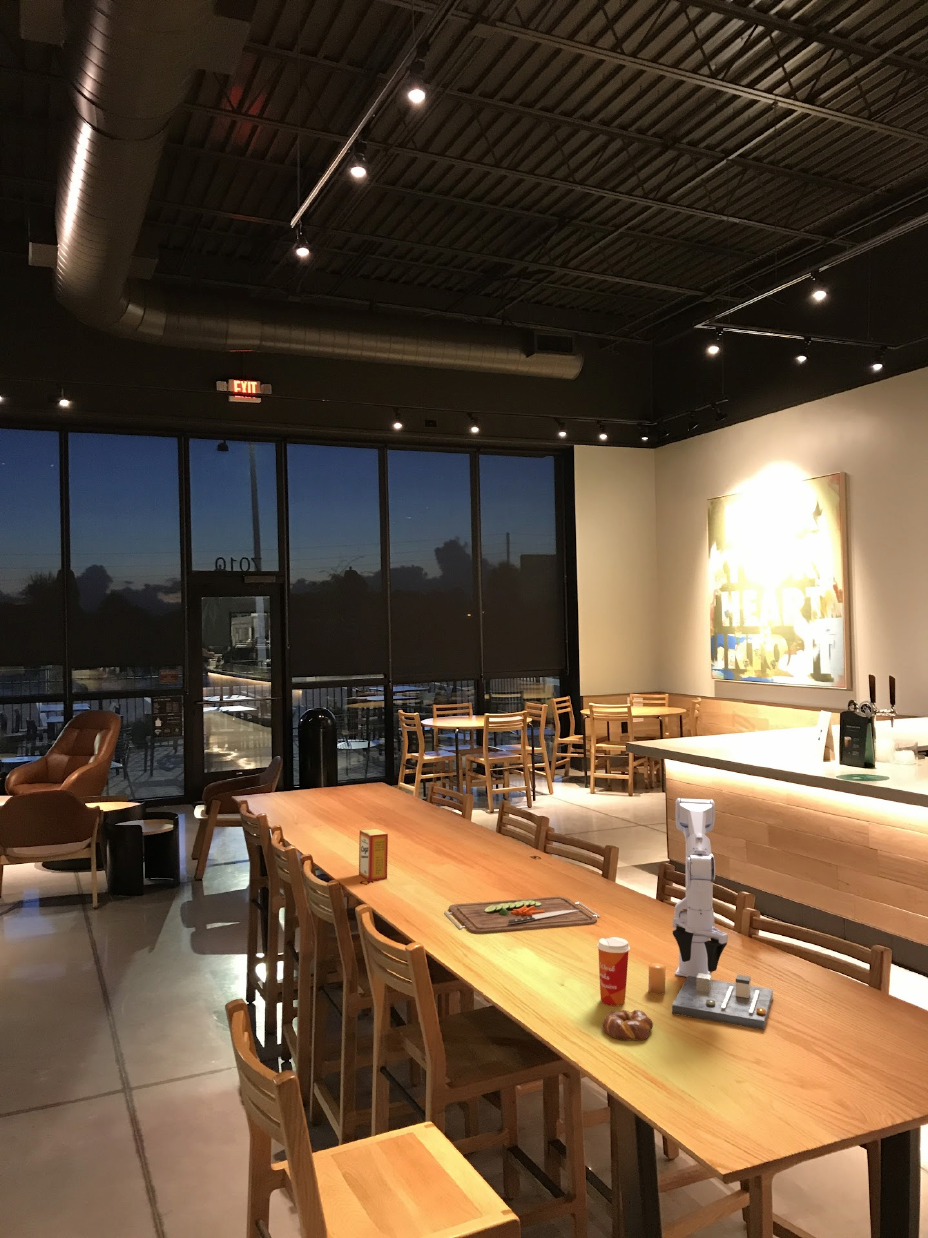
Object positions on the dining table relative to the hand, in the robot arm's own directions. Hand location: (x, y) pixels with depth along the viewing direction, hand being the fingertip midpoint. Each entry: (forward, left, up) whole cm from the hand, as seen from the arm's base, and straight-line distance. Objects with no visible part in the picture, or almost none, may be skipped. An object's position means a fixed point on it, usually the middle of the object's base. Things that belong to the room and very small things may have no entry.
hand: (699, 965), depth 217 cm
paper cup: (+6, -19, -10) cm, 22 cm away
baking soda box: (-65, -123, -10) cm, 139 cm away
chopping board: (-47, -61, -10) cm, 77 cm away
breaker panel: (-3, +5, -9) cm, 11 cm away
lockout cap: (-5, -11, -9) cm, 15 cm away
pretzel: (+20, -12, -10) cm, 25 cm away
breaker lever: (-6, +9, -7) cm, 13 cm away
